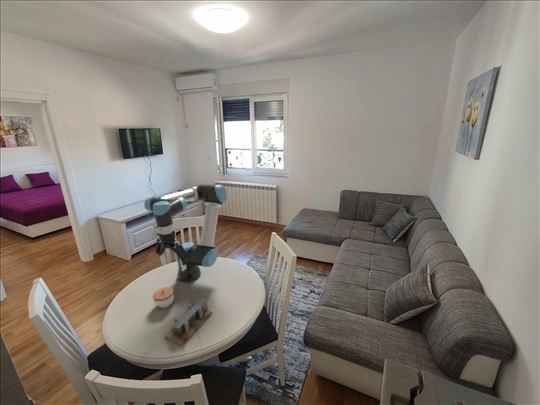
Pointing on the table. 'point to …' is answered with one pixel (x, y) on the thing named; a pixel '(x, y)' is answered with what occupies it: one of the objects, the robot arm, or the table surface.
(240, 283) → the table surface
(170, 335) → the rack
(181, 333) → the grey notched bar
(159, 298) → the lidded jar
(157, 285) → the table surface
